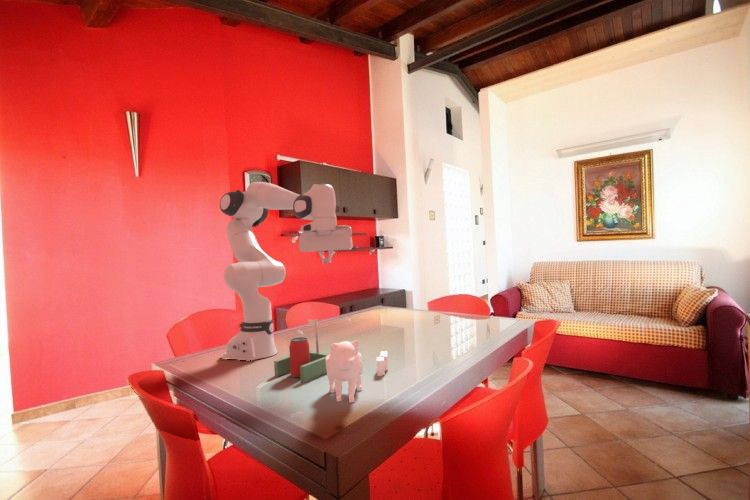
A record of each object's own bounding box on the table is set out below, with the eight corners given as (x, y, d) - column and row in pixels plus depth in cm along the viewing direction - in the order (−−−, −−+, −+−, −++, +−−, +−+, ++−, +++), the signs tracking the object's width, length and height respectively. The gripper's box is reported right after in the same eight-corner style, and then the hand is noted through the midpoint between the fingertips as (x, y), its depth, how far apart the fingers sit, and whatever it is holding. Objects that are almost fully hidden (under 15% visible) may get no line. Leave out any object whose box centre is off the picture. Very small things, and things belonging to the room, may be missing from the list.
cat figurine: (325, 381, 113) (323, 328, 114) (358, 377, 115) (356, 325, 115) (328, 415, 89) (325, 348, 89) (370, 410, 90) (367, 344, 91)
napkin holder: (382, 363, 131) (381, 347, 131) (407, 368, 123) (406, 352, 123) (354, 375, 119) (353, 358, 119) (380, 381, 112) (379, 363, 112)
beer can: (306, 378, 117) (305, 341, 117) (287, 378, 118) (286, 341, 118) (312, 371, 124) (311, 336, 124) (294, 371, 124) (293, 337, 125)
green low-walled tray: (304, 382, 113) (301, 328, 113) (274, 375, 121) (272, 325, 121) (334, 369, 125) (332, 320, 125) (306, 364, 133) (304, 318, 133)
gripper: (353, 225, 135) (355, 261, 135) (302, 228, 139) (304, 263, 138) (350, 224, 129) (351, 262, 129) (296, 227, 132) (298, 264, 132)
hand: (326, 263), depth 134 cm, fingers closed
